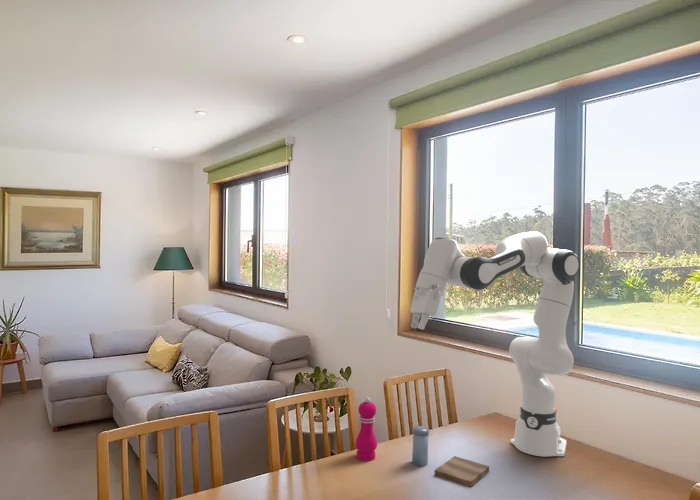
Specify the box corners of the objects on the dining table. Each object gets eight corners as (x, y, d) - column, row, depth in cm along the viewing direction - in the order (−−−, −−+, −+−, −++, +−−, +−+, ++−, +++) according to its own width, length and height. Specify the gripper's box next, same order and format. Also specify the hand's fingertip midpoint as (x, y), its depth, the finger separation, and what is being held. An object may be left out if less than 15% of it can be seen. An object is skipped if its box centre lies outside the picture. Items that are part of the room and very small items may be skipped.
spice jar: (416, 458, 173) (417, 424, 173) (431, 462, 169) (432, 428, 169) (408, 463, 168) (409, 429, 168) (423, 467, 165) (424, 433, 165)
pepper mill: (374, 462, 168) (376, 401, 168) (353, 460, 169) (355, 399, 169) (378, 454, 175) (380, 395, 175) (357, 451, 176) (359, 393, 176)
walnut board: (454, 460, 171) (454, 456, 171) (489, 471, 164) (489, 466, 164) (434, 475, 160) (434, 470, 160) (470, 487, 153) (471, 481, 153)
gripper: (449, 288, 151) (435, 333, 149) (431, 290, 171) (418, 330, 169) (429, 280, 150) (414, 326, 149) (414, 284, 171) (400, 324, 169)
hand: (416, 328), depth 159 cm, fingers open, 8 cm apart
